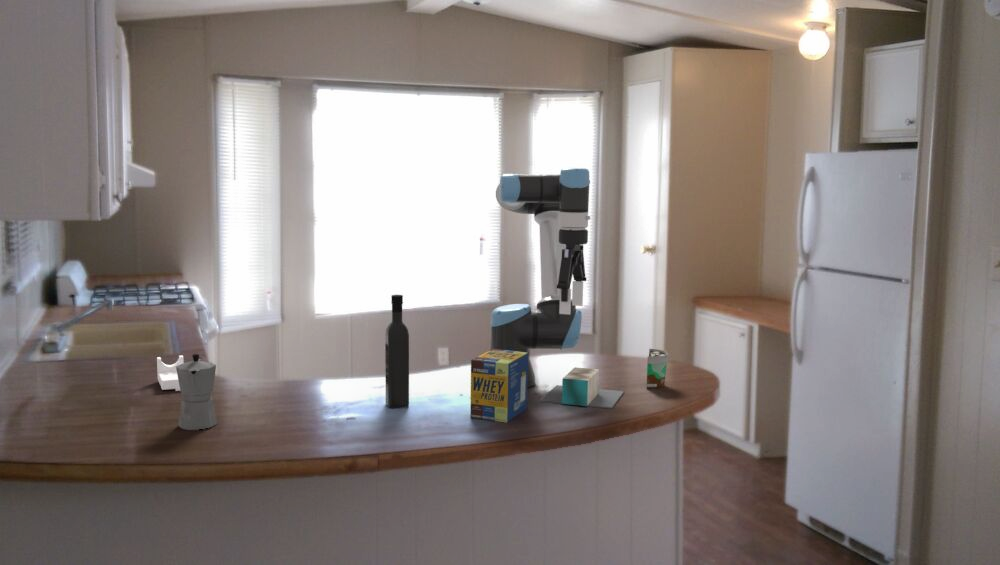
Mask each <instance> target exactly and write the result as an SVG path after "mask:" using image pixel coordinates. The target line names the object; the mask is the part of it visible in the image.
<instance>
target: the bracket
mask: <svg viewBox="0 0 1000 565" xmlns="http://www.w3.org/2000/svg"><path fill="white" fill-rule="evenodd" d="M184 361H185V360H184V355H178V358H177V360H176V362H175V363H173V364H166V363H164V362H163V361H162V357H161V356H158V357H157V356H156V365H157V366H156V367H157V368H156V369H157V381H158V384H159V386H160V388H161V391H163V390H175V392H177V391H179V392H181V391H180V386H179V380H178V375H177V370H176V366H178V365H181V364H183V363H185V362H184Z"/></svg>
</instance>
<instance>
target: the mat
mask: <svg viewBox="0 0 1000 565" xmlns="http://www.w3.org/2000/svg"><path fill="white" fill-rule="evenodd" d="M624 394H625V391H623V390H615V389H613V390H611V389H603V388H602V389H601V388H598V394H597V395H596V397H595V398H594V399H593V400H592V401H591V402H590V403H589V404H588V406H587V407H590V408H597V409H599V408H600V409H608V410H609V409H610V410H612V409H613V408H614V406H616V404H617V402H619V400H620V399H621V397H622V396H623V395H624ZM539 402H541V403H548V404H549V403H551V404H560V405H563V404H562V384H561V385H560V384H559V385H558V384H557V385H555V386H553V387H552V389H550V391H548V392H547V393H546V394H545V395H543V396H542V398H541V399H540V400H539ZM567 405H569V406H572V405H571V404H567ZM577 406H580V407H582V406H581V405H577Z"/></svg>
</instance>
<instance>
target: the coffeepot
mask: <svg viewBox="0 0 1000 565" xmlns="http://www.w3.org/2000/svg"><path fill="white" fill-rule="evenodd" d="M191 356H192V361H189V362H188V361H187V362H184V363H183V364H181V365H178V366H176V370H177V375H178V380H179V386H180V391H179V392H180V393H181V394H182V400H181V402H180V410H179V418H178V423H177V425H178V427H179V428H180V429H182V430H184V431H200V430H199V429H203V430H206V429H205V428H208V429H211V428H213V427H212V426H214V425H215V426H216V425H217V424H218V419H217V418H218V417H217V415H216V414H217V413H216V408H215V404H214V399H213V398H212V392H214V387H215V386H214V384H215V376H216V370H217V369H216V368H217V364H215V363H213V362H211V361H205V360H204V361H203V359H202V357H200V354H199V353H193V354H192V355H191ZM215 426H214V427H215ZM210 427H211V428H210Z"/></svg>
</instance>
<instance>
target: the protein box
mask: <svg viewBox="0 0 1000 565" xmlns="http://www.w3.org/2000/svg"><path fill="white" fill-rule="evenodd" d="M527 385H528V353H527V352H518V351H510V350H501V349H491V348H490V350H488V351H486V352H484V353H482V354H479V355H477V356H476V357H475V358H471V360H470V418H471V419H477V420H484V421H493V422H498V423H499V422H501V423H506V424H507V423H509V422H510V421H512V420H513V419H515V417H517V416H518V415H519V414H521V413H522V412H523V411H525V410H526V409H527V408H528V388H527Z"/></svg>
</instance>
